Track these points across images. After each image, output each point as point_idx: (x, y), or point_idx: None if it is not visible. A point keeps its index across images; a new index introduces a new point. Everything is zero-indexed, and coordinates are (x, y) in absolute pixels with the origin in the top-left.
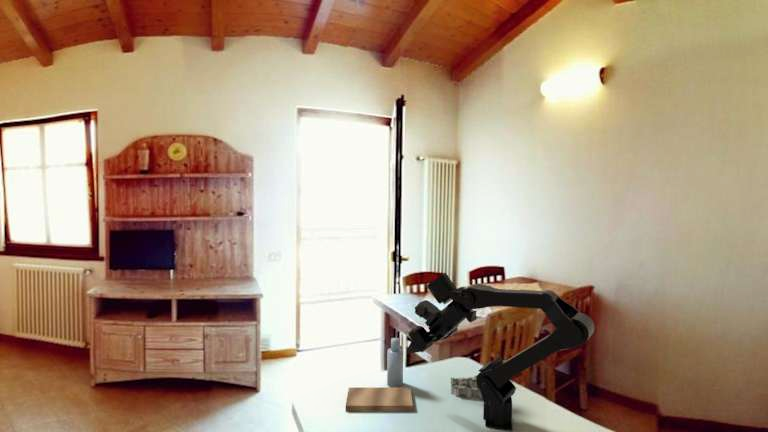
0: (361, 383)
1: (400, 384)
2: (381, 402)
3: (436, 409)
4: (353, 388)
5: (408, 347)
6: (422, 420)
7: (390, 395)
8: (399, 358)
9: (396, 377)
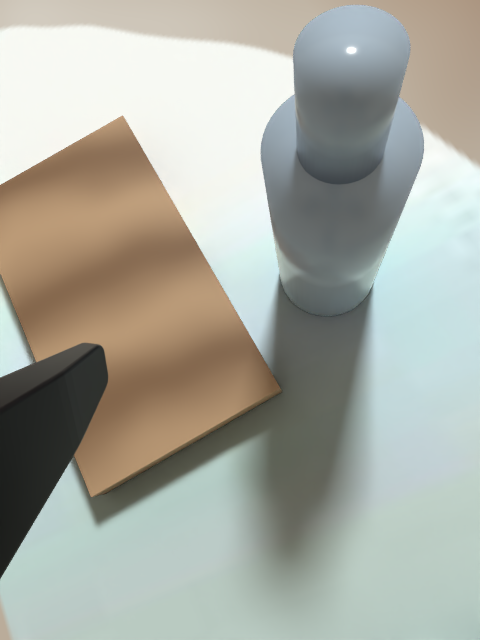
0: (241, 126)
1: (310, 309)
2: (55, 326)
3: (177, 619)
4: (124, 137)
5: (16, 375)
6: (42, 581)
7: (140, 331)
8: (302, 234)
9: (287, 277)
